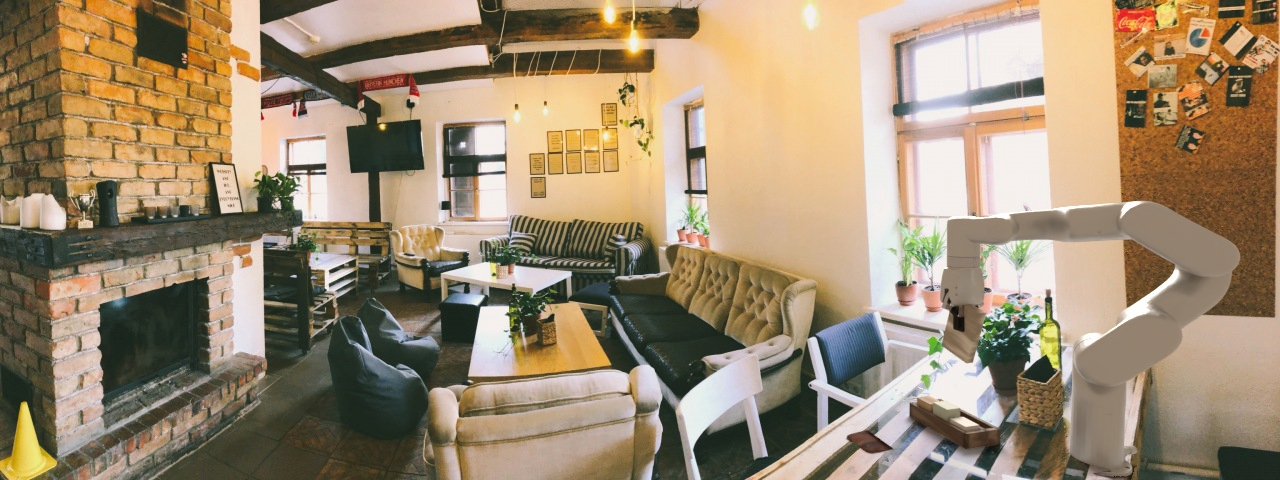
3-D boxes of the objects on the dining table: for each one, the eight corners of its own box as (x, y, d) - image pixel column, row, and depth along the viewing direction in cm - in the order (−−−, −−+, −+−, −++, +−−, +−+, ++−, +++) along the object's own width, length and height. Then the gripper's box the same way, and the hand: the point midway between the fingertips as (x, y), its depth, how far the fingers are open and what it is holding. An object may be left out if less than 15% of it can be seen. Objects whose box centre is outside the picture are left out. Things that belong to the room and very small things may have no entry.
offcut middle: (945, 425, 140) (945, 400, 139) (960, 433, 135) (960, 408, 134) (932, 426, 139) (933, 402, 138) (947, 435, 134) (947, 409, 133)
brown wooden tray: (940, 416, 148) (940, 398, 147) (1000, 449, 128) (1000, 429, 128) (909, 420, 146) (909, 402, 146) (965, 454, 126) (966, 434, 126)
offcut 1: (929, 415, 145) (929, 395, 145) (942, 423, 141) (942, 402, 140) (917, 417, 145) (917, 397, 144) (930, 425, 140) (930, 404, 139)
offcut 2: (963, 434, 134) (963, 416, 133) (978, 443, 129) (979, 424, 128) (949, 436, 133) (950, 418, 133) (965, 445, 128) (965, 426, 128)
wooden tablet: (918, 417, 146) (949, 428, 137) (919, 424, 146) (949, 436, 137) (843, 434, 138) (869, 446, 129) (843, 442, 138) (870, 455, 129)
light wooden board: (947, 344, 142) (959, 297, 137) (972, 362, 134) (986, 312, 129) (941, 345, 142) (952, 297, 137) (966, 363, 133) (979, 313, 128)
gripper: (976, 259, 139) (976, 324, 140) (926, 262, 136) (926, 329, 137) (1000, 262, 131) (1000, 331, 133) (948, 266, 129) (948, 336, 130)
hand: (962, 329), depth 135 cm, fingers closed on light wooden board, 1 cm apart
